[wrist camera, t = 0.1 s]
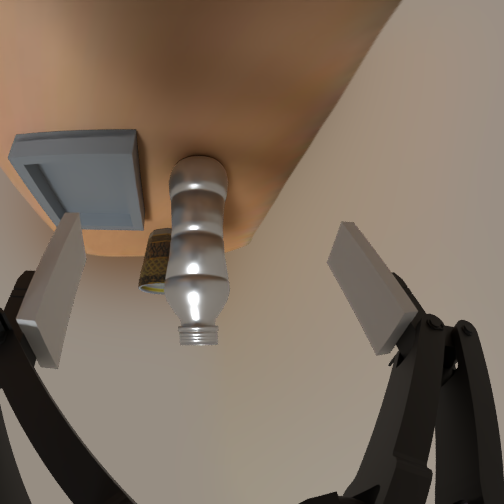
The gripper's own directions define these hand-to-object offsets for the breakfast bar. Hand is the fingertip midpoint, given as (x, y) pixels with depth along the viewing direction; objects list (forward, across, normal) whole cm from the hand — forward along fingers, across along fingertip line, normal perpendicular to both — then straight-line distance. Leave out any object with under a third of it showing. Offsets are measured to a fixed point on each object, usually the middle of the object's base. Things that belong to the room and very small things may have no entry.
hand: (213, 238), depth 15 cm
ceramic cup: (+36, -1, -24) cm, 43 cm away
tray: (+25, -13, -8) cm, 29 cm away
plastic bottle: (+23, +1, -5) cm, 23 cm away
